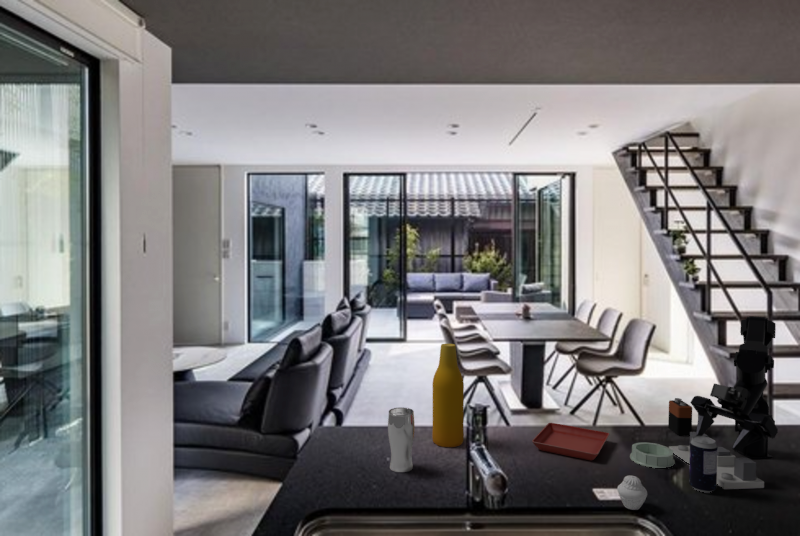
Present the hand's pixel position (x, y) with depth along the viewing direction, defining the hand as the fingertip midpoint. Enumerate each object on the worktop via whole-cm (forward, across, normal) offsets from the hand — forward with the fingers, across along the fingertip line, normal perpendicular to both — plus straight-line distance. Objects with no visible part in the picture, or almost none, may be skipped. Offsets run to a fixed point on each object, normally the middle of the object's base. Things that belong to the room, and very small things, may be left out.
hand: (714, 443), depth 127 cm
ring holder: (+8, -17, +7) cm, 20 cm away
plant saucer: (+18, -34, -2) cm, 38 cm away
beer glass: (+53, -41, -38) cm, 77 cm away
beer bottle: (+39, -52, -24) cm, 69 cm away
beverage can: (+10, 0, +5) cm, 11 cm away
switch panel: (+1, -7, +14) cm, 16 cm away
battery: (-10, -29, +25) cm, 40 cm away
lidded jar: (+26, -1, -10) cm, 28 cm away
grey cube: (-2, -6, +14) cm, 16 cm away
